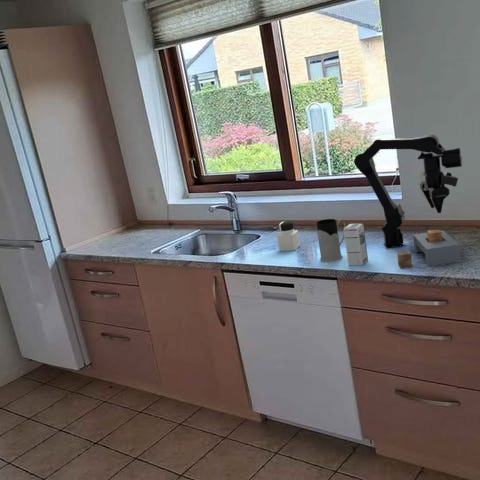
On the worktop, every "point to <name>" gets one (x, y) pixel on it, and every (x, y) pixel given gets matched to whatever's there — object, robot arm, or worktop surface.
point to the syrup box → (355, 244)
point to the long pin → (434, 235)
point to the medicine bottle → (288, 237)
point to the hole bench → (438, 249)
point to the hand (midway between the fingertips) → (436, 210)
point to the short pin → (404, 259)
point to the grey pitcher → (329, 240)
